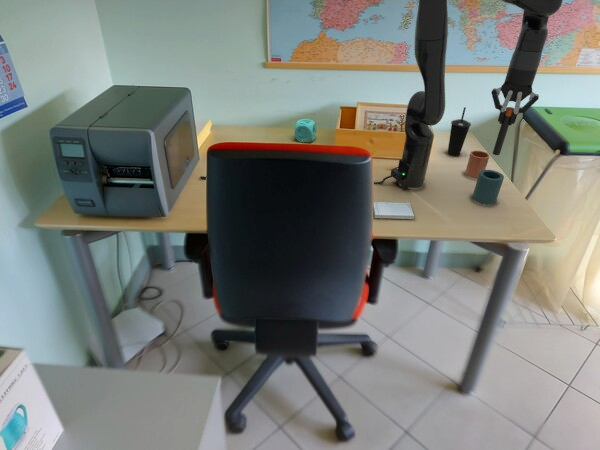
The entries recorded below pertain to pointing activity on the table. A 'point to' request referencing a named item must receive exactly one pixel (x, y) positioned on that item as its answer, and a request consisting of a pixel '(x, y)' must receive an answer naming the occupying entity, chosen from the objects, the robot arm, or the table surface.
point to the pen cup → (476, 163)
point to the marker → (503, 130)
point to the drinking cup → (458, 135)
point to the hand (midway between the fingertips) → (505, 123)
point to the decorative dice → (305, 130)
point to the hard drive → (393, 210)
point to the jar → (488, 186)
